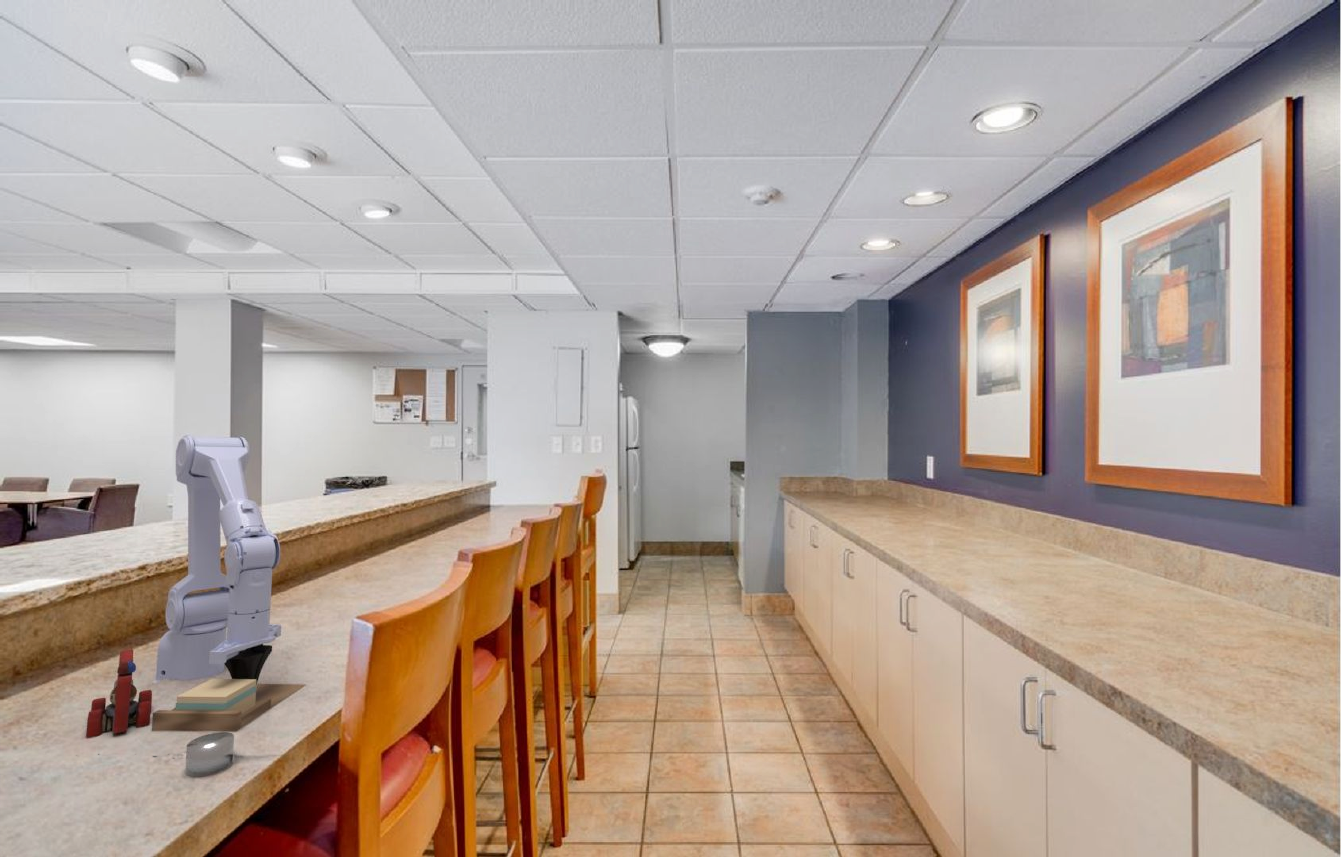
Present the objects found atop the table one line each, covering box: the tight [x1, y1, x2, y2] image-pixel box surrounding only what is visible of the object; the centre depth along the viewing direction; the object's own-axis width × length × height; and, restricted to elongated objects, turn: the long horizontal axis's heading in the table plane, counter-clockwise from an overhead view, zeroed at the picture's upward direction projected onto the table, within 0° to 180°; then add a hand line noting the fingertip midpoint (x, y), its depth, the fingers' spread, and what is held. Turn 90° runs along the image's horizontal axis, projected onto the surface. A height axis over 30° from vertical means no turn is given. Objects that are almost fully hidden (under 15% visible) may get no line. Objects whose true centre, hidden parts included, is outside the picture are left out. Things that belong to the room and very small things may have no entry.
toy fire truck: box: [85, 648, 153, 739], centre depth 91 cm, size 7×12×10 cm, turn 40°
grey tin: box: [185, 732, 235, 778], centre depth 80 cm, size 5×5×4 cm
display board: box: [151, 683, 307, 733], centre depth 97 cm, size 12×18×4 cm, turn 2°
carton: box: [175, 678, 257, 713], centre depth 92 cm, size 7×7×4 cm
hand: (245, 694), depth 99 cm, fingers closed
